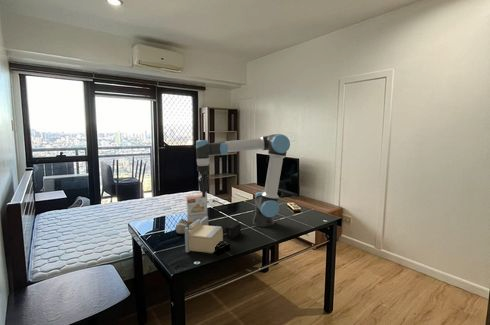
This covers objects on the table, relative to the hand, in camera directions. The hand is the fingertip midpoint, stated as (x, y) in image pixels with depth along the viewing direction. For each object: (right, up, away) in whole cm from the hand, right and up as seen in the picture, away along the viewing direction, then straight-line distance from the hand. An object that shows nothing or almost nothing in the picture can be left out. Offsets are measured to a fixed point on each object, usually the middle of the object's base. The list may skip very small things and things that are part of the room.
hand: (204, 201), depth 162 cm
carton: (+4, -23, -9) cm, 25 cm away
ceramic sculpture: (-17, -22, +10) cm, 29 cm away
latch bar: (-4, -12, -12) cm, 17 cm away
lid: (+2, -16, -14) cm, 21 cm away
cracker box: (-9, -20, +23) cm, 32 cm away
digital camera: (+18, -22, +2) cm, 28 cm away
